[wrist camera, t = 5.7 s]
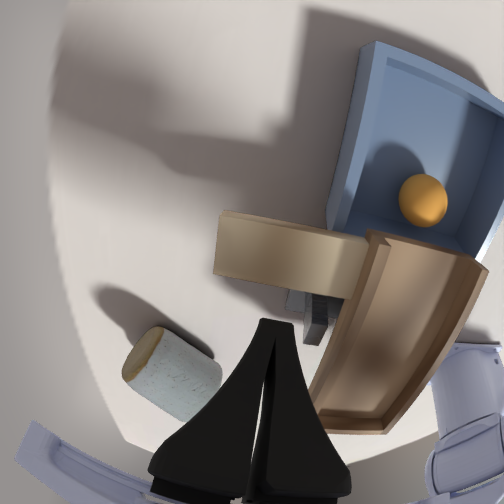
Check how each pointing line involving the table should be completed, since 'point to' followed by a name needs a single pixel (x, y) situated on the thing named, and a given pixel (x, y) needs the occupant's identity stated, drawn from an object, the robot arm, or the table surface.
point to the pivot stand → (314, 312)
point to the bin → (419, 151)
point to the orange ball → (423, 200)
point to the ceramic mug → (171, 373)
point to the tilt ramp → (361, 309)
